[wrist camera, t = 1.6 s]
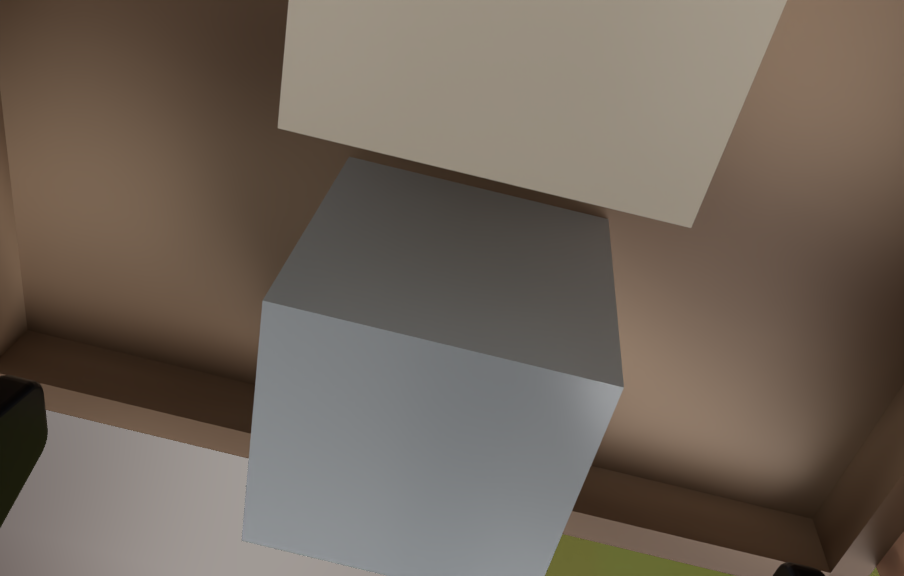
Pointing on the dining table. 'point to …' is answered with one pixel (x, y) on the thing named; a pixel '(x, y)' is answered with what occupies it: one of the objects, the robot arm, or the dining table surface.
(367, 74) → the beige cube
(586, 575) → the dining table surface
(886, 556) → the pink storage bin
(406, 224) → the pale grey matte cube
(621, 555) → the dining table surface
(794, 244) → the parts tray
